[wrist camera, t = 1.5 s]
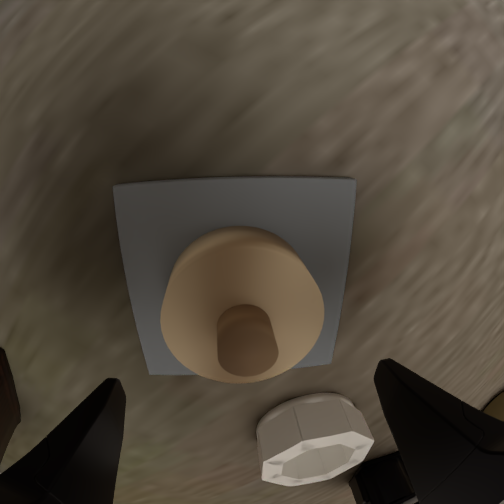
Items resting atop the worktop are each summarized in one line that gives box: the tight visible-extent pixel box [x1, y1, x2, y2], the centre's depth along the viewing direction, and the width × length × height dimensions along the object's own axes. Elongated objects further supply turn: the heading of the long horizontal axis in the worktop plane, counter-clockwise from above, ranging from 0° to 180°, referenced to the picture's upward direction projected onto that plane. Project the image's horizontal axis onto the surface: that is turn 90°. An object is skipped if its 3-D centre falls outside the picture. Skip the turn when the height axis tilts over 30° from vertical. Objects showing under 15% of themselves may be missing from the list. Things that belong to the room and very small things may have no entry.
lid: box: [160, 226, 324, 383], centre depth 13 cm, size 7×7×5 cm
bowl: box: [256, 393, 374, 486], centre depth 19 cm, size 8×8×4 cm
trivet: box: [113, 176, 357, 375], centre depth 15 cm, size 11×11×1 cm
